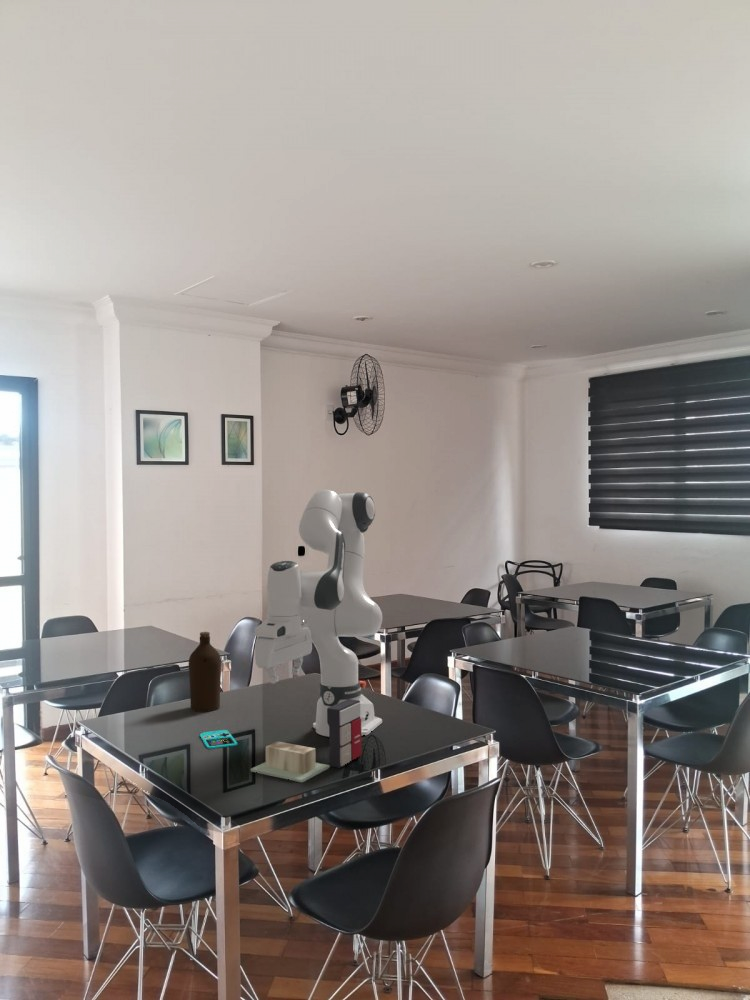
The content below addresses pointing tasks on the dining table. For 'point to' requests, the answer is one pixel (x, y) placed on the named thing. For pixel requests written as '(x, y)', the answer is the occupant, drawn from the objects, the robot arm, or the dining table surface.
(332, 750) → the dark grey box
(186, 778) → the dining table surface
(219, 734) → the handheld gaming console
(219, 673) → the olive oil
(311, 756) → the birch block
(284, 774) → the rubber mat
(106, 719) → the dining table surface
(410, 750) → the dining table surface
